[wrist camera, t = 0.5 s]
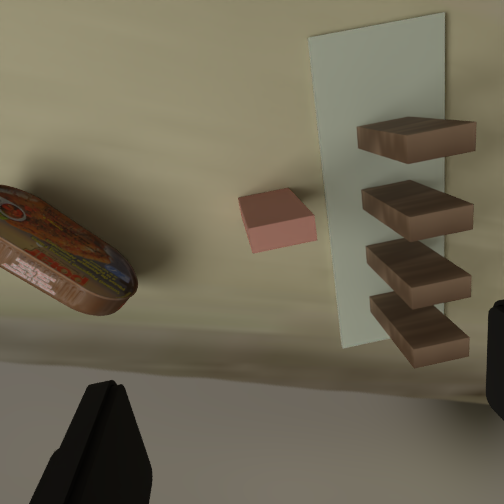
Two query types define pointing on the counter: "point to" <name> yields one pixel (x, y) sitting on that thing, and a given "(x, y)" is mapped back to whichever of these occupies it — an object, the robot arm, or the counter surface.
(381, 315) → the domino
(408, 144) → the domino
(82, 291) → the tin
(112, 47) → the counter surface
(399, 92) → the mat
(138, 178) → the counter surface
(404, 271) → the domino
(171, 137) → the counter surface
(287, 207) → the domino
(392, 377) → the counter surface
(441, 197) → the domino
